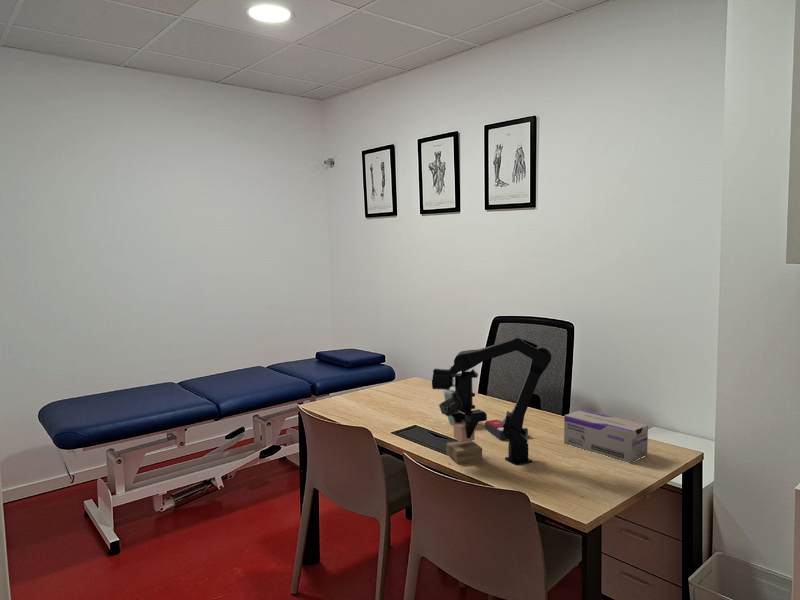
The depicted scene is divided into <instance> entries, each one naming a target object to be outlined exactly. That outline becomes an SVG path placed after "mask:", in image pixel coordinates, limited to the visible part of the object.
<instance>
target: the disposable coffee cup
mask: <svg viewBox="0 0 800 600" xmlns="http://www.w3.org/2000/svg"><path fill="white" fill-rule="evenodd" d="M453 392H455V383H454V384H453V387H451V388H450V390H445V389H442V393H443V395H444V401H446V400H448V399H450V398H452V394H453ZM447 418H448V419H447V420H448V423H449V424H450V425H453V426H454V423H455V422H454V419H453V417H452V416H451V415H450V416H447Z"/></svg>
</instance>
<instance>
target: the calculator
mask: <svg viewBox="0 0 800 600" xmlns="http://www.w3.org/2000/svg"><path fill="white" fill-rule="evenodd" d="M504 419H505V418H502V419H501V418H500V419H493V420H492V419H491V420H486V421H484V429H485V430H486V431H487V430H488V431H487V432H489V433H490V434H491V435H493V436H494V437H495V438H497V439H498V440H499V441H501V442H502V441H509V440H508V439H507V438H506V437H505V436H504V434H503V428H504V427H502V423H503V420H504ZM522 428H523V429H524V430H525V431H526V432H527V433H528V434H529V429H528V428H527V427H526V426H524V425H523V426H522Z"/></svg>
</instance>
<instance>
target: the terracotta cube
mask: <svg viewBox="0 0 800 600" xmlns="http://www.w3.org/2000/svg"><path fill="white" fill-rule="evenodd" d="M475 430H476V428H475V429H474V431H473V433H472V435H471V437H470V438H467V436H466V427H465V423H464V422H459V423H454V425H453V439H455V440H456V441H460V442H467V441H475V438H476V437H475V436H476V435H475Z"/></svg>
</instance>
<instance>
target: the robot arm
mask: <svg viewBox="0 0 800 600" xmlns="http://www.w3.org/2000/svg"><path fill="white" fill-rule="evenodd" d="M515 351H516V352H519V353H521V354H522V355H524V356H526V357H527V358H530V365H529V370H528V373H527V375H526V377H525V381H524V383H523V385H522V388H521V389H520V390H521V391H520V393H519V396H518V398H517V401H516V402H515V405H514V407H513V409H512V411H509V410H507V411H506V415H505V417H504V418H503V419H504V420H503V423H502V427H504V428H503V434H504V436H505V437H506V438H507V439H508V440H507V441H508V446H507V447H508V448H507V450H508V456H505V457H504V459H505V460H506V461H508V462H510V463H511V464H513V465H515V466H519V465H523V464H528V463H532V462H533V460H532V459H531V458H529V443H528V438H529V432H528V433H527V432H526V431H525V430H524V429H523V428H522V426H524V420H525V414H526V412H527V410H528V407H529V405H530V403H531V399H532V397H533V395H534V392H535V390H536V388H537V385H538V382H539V380H540V378H541V376H542V374H544V372H545V370H546V369H547V368H548V366H549V364H550V363H551V361H552V353H551V350H550V347H548V346H547V345H544V344H536V343H535V342H532V341H529V340H527V339H524V338H522V337H520V336H514V337H512V338H511V339H507V340H503V341H501V342H497V343H495V344H492V345H489V346H486V347H482V348H478V349H469V350H463V351H460V352H458V353H457V354H456V356H455V357H454V360H453V365H451V366H450V368H449V369H446V368H445V369H443V368H434V369H433V370H432V372H433V373H432V379H431V387H432V390H443V389H445V390H450V388H451V387H453V384H455V392H453V394H452V398H450V399H448V400H446V401H445V400H444V401H442V402H440V403H439V404H438V406H439V410H440V411H441V414H442V415H445V416H446V417H448V416H450V415H451V416H452V417H453V419H454V422H455V423H459V422H464V423H465V427H466V436H467V438H470V437H471V435H472V433H473V431H474V429H475V430H476V427H477V425H479V422H480V423H481V422H486V421H488V415H487V412H486V411H484V410H481V409H476V405H475V404H473V401H474V398H473V397H476V393H475V392H473V379H474V378H475V379H477V378H478V376H479V373H477V371H475V369H474V367H476V366H478V365H479V364H481V363H483V362H484V361H488V360H491V359H495V358H497V357H500V356H503V355H507V354H509V353H512V352H515ZM469 370H470V371H469ZM460 372H461V373H460Z"/></svg>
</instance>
